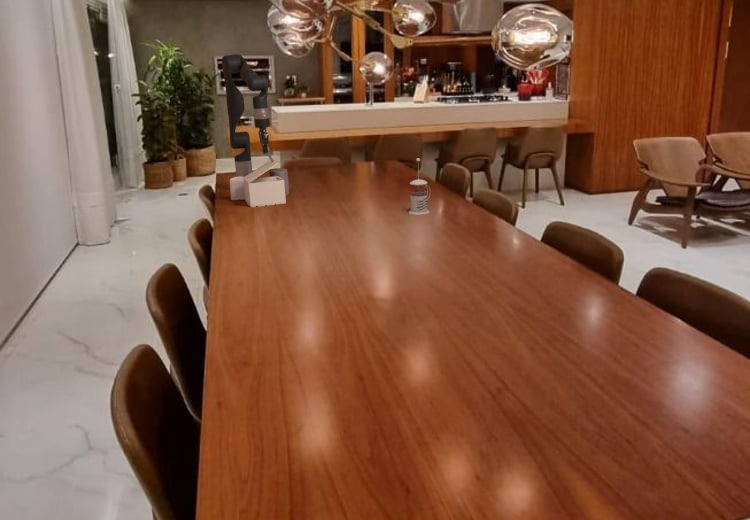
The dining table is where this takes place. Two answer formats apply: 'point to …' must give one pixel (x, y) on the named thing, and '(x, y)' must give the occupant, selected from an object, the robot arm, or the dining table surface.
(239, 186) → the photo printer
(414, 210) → the french press
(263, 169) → the carton lid
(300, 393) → the dining table surface
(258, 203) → the carton
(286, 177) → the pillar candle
